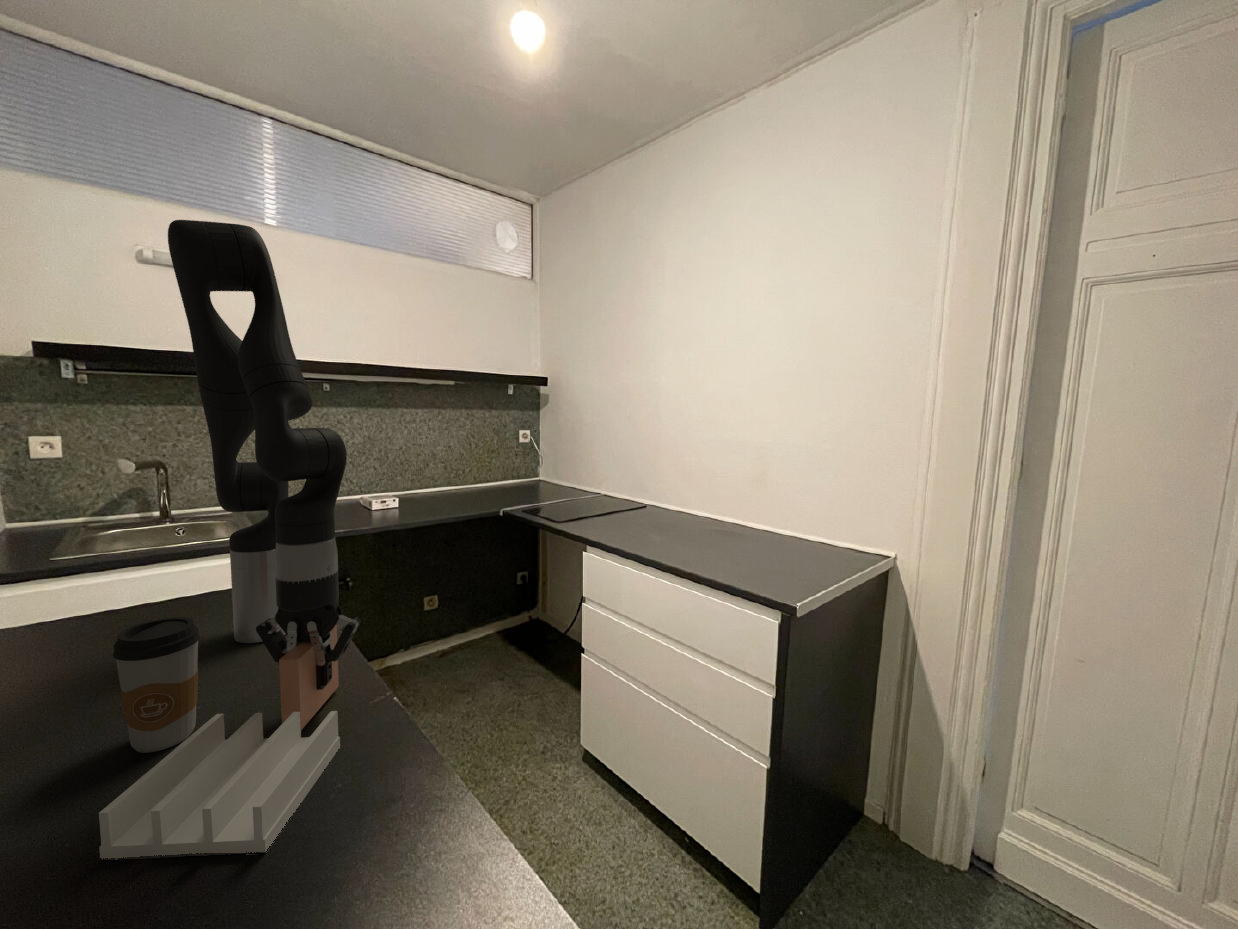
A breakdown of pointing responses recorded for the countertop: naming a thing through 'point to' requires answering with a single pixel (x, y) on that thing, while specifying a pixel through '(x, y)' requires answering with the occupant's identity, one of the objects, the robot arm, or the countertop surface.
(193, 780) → the dish rack
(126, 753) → the countertop surface
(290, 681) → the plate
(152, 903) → the countertop surface
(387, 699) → the countertop surface
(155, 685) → the coffee cup
